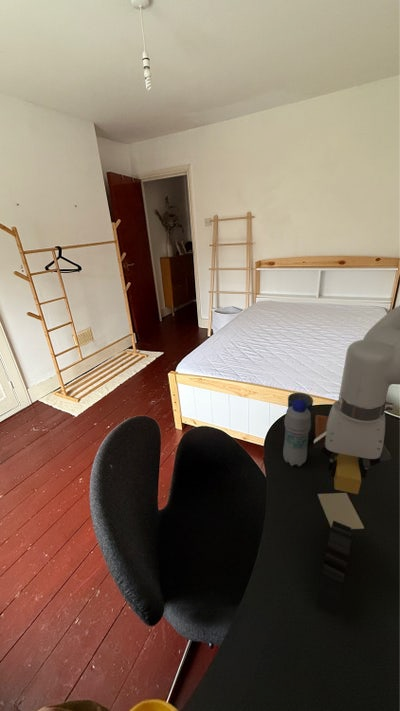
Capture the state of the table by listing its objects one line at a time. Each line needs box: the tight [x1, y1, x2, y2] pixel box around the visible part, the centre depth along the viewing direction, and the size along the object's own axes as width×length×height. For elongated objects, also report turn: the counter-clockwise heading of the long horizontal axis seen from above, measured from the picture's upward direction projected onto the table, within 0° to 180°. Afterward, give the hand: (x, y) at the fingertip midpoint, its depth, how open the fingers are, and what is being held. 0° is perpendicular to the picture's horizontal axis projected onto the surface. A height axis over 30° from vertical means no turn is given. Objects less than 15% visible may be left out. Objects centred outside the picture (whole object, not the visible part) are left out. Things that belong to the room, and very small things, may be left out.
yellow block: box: [333, 453, 363, 495], centre depth 63 cm, size 8×4×4 cm, turn 160°
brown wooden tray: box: [314, 414, 329, 449], centre depth 91 cm, size 14×12×2 cm
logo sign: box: [314, 520, 353, 619], centre depth 56 cm, size 18×4×11 cm, turn 149°
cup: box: [287, 392, 314, 414], centre depth 87 cm, size 7×7×15 cm
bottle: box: [282, 400, 312, 467], centre depth 79 cm, size 7×7×20 cm
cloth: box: [317, 492, 365, 530], centre depth 69 cm, size 7×9×1 cm
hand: (345, 474), depth 64 cm, fingers closed on yellow block, 4 cm apart
